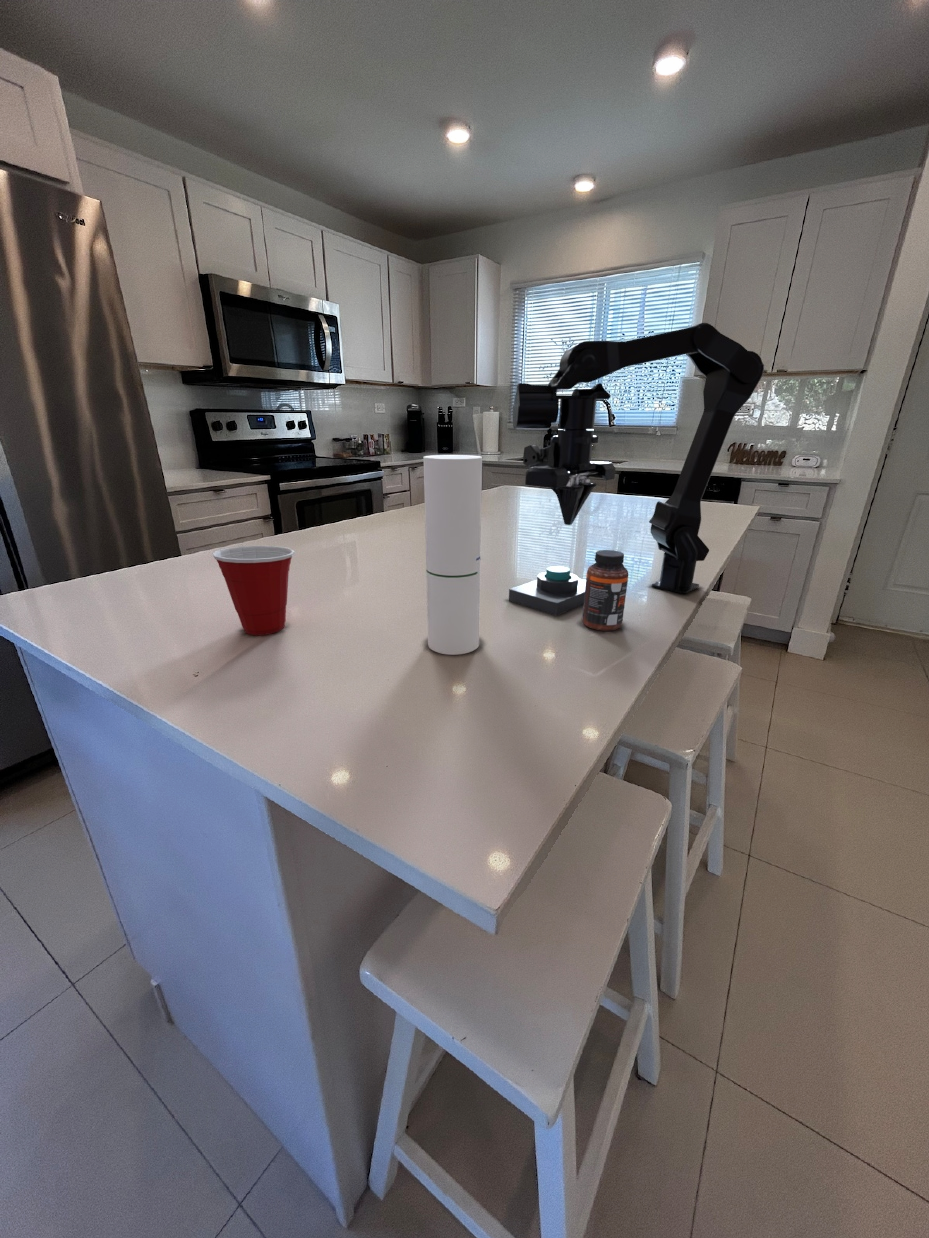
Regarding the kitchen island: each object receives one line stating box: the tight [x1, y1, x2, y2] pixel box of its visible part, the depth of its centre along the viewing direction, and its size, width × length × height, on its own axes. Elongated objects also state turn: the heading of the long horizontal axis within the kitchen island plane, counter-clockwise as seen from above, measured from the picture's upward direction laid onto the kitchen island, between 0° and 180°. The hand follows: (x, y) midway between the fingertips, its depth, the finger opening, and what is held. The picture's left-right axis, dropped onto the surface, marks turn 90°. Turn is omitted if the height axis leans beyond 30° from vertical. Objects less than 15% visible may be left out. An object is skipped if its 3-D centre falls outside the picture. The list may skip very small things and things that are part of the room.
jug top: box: [508, 571, 586, 617], centre depth 88 cm, size 14×10×4 cm
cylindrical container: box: [423, 454, 483, 656], centre depth 66 cm, size 7×7×25 cm
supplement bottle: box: [581, 549, 629, 632], centre depth 76 cm, size 6×6×11 cm
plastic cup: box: [212, 545, 296, 636], centre depth 74 cm, size 11×11×12 cm
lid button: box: [545, 565, 571, 581], centre depth 87 cm, size 4×4×2 cm
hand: (568, 524), depth 89 cm, fingers closed
